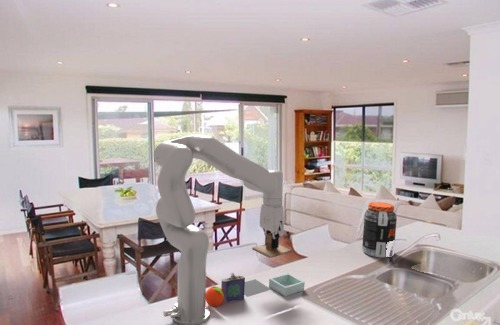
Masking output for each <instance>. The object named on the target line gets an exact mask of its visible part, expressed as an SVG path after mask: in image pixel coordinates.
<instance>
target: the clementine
mask: <svg viewBox="0 0 500 325" xmlns="http://www.w3.org/2000/svg"><path fill="white" fill-rule="evenodd" d="M223 300H224V293H223V290H222V289H221V287H219V286H215V285H214V286H211V287H209V288H207V289H206V304H208V306H210V307H219V306H220V305H221V304H223V303H222V302H223Z"/></svg>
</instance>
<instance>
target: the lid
mask: <svg viewBox="0 0 500 325" xmlns="http://www.w3.org/2000/svg"><path fill="white" fill-rule="evenodd" d="M276 234H277V233H275V235H276ZM272 239H273V234H272V232H271V233H268V234H266V246H265V243H263V244H261V245H257V246H254V247H252V248H251V249H252V250H253V251H255V252H256V253H258V254H261V255H263V256H265V257H266V258H269V259H272V258H275V257H279V256H282V255H286V254H289V253H292V249H290V248H288V247H286V246H283V245H281V244H279V247H278V248H275V249H272V248H271V246H272Z"/></svg>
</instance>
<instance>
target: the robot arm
mask: <svg viewBox="0 0 500 325" xmlns="http://www.w3.org/2000/svg"><path fill="white" fill-rule="evenodd" d="M153 159H154V161H155V163H156V164H157V165H158V166H160V167H161V168H160V171H159V174H158V178H157V182H156V183H157V190H158V193H159V195H160V198H159V199H158V200H157V202H156V206H155V213H156V214H155V215H156V217H157V220H158V222H159V225H160V227H161V229H162V231H163V234H164V236H165V238H166V240H167V242H168V243H169V244H170V245H171V246H173V247H174V248H176V249H177V250H179V251H180V255H179V259H178V262H177V300H176V301H177V303H174V307H172V308H171V309H167V310H164V311H163V312H162V313H163V317H164V318H165V317H166V318H167V317H170V319H172V320H173V321H174V322H175V323H177V324H180V325H201V324H204V323H205V322H207V321H208V320H209V318H210V316H211V310H210V309H209V308H208V307H207V306H206V304H207V302H206V292H207V288H206V286H207V257H208V251H209V246H210V239H209V238H210V237H209V236H208V234H207V232H206V231H205V230H203V229H202V228H201V227H199V226H197V225H195V224H193V223H194V222H195V220H196V211H195V207H194V205H193V203H192V199H191V198H190V197H191V196H190V194H189V192H188V189H187V186H186V185H187V184H186V181H185V180H186V177H187V172H188V171H189V169H190V167H191V166H192V163H193V160H194V159H196V160H201V161H202V162H204V163H206V164H208V165H210V166H212V167H213V168H214V169H217V171H220V172H221V173H222V174H224V175H226V176H228V177H231V178H233V179H237V180H240V181H242V182H243V183H242V184H243V185H244V186H245V188H247V189H248V190H251V191H254V192H258V193H262V203H261V207H260V214H259V227H260V228H261V229H262V230H263V233H264V238H265V240H264V244H265V246H266V234H268V233H272V234H273V239H272V246H271V248H272V249H275V248H278V247H279V245H280V244H279V243H280V241H279V239H280V238H281V237H282V236H283V235H285V231H284V229H285V215H284V207H283V192H284V190H283V188H284V187H283V184H284V183H283V182H284V174H283V172H282V170H280V169H266V168H265V167H264V166H262V165H260V164H258V163H256V162H255V161H252V160H251V159H249V158H247V157H245V156H243V155H241V154H239V153H237V152H236V151H234V150H233V149H231V148H230V147H229V146H227V145H225V144H224V143H223V142H222V141H221V140H218V139H217V138H215V137H213V136H211V135H208V134H207V135H206V134H198V133H197V134H196V133H195V134H190V135H187V136H183V137H178V138H174V139H171V140H167V141H163V142H161V143H159V144H158V145H157V146H156V147H155V148H154V151H153ZM275 234H276V235H275Z"/></svg>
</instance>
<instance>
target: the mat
mask: <svg viewBox="0 0 500 325" xmlns="http://www.w3.org/2000/svg"><path fill="white" fill-rule="evenodd" d="M271 290H272V288H270V287H269V286H266V285H265V284H264V283H262V282H260V281H259V280H257V279H251V280H248V281H245V287H244V296H246V297H247V298H248V297H251V296H254V295H257V294H261V293H264V292H267V291H271Z"/></svg>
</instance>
